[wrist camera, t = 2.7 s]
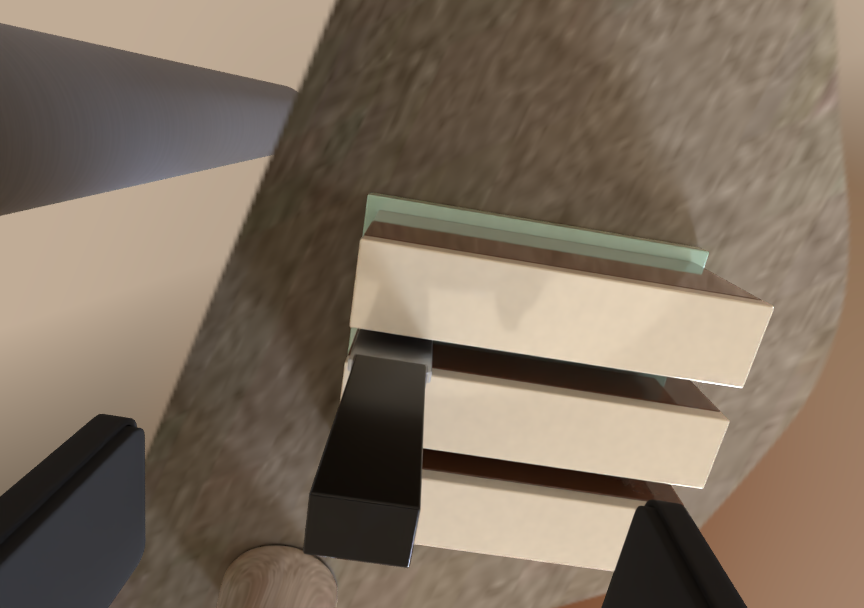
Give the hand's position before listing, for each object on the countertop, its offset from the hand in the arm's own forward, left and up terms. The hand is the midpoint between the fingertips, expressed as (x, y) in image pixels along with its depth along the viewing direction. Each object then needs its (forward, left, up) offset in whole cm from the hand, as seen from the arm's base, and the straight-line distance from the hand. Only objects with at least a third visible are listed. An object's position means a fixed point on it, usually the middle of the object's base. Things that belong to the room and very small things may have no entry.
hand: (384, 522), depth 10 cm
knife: (0, 0, -13) cm, 13 cm away
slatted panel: (+5, -2, -14) cm, 15 cm away
